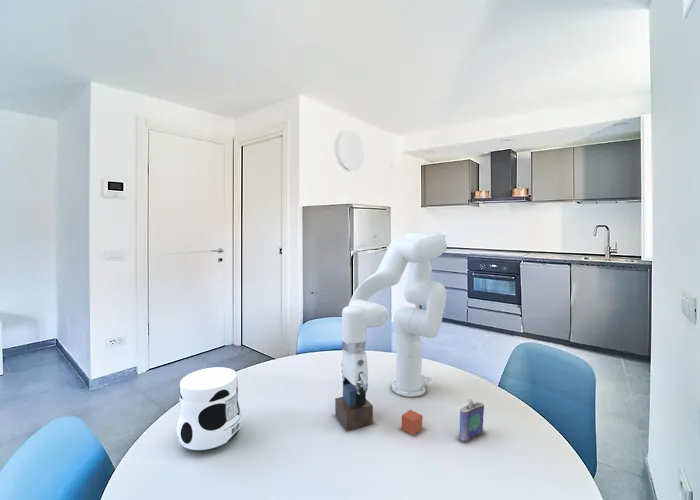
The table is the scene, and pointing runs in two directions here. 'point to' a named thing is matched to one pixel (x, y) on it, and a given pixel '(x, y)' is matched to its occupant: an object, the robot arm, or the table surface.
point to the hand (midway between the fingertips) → (353, 398)
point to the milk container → (208, 409)
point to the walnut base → (353, 414)
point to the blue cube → (350, 394)
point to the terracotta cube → (412, 422)
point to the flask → (471, 421)
